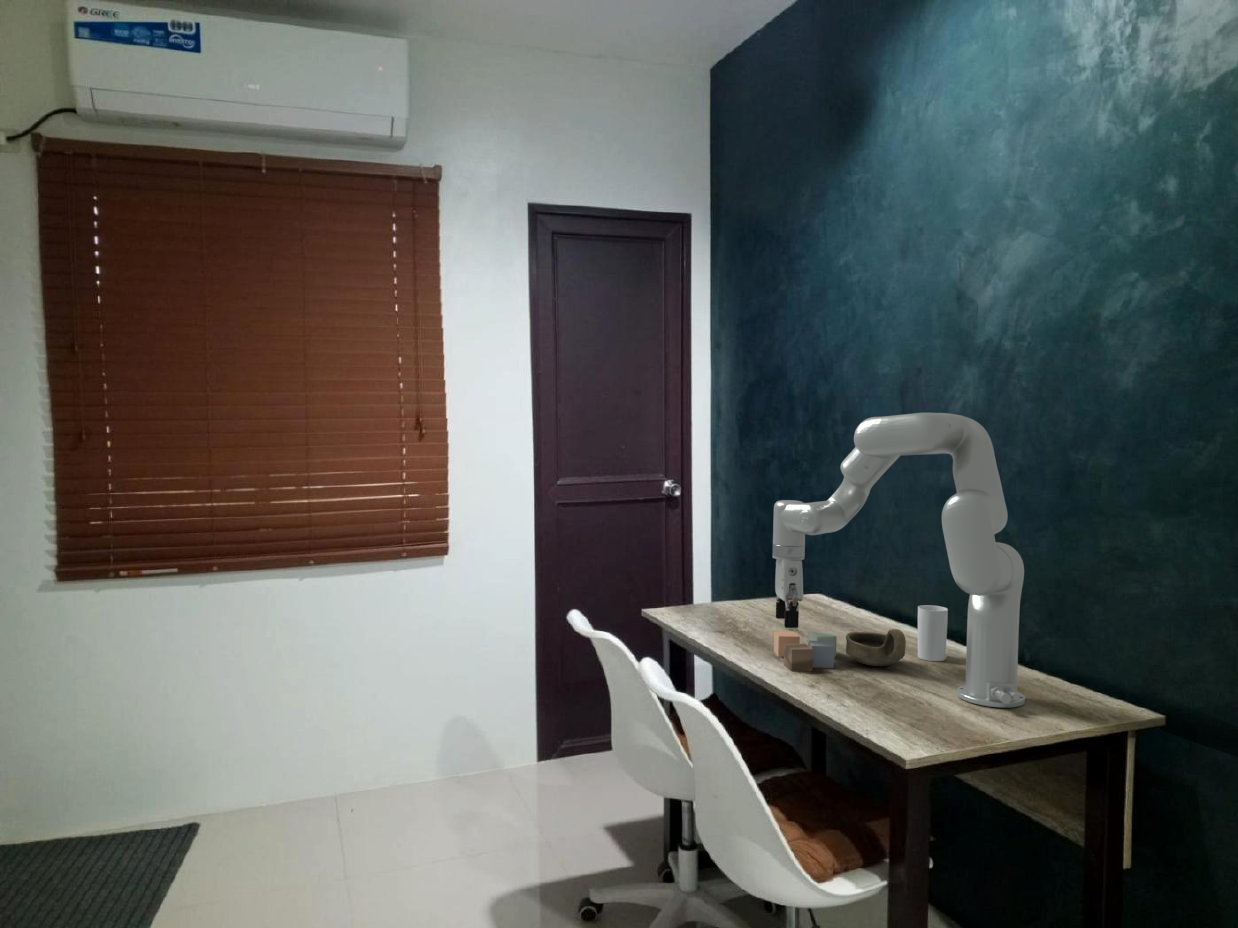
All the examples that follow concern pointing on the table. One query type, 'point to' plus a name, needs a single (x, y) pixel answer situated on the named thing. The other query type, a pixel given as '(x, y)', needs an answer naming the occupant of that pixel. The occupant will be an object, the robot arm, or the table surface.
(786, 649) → the walnut cube
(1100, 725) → the table surface
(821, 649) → the slate cube
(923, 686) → the table surface
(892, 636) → the bowl
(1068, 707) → the table surface
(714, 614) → the table surface
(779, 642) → the terracotta cube
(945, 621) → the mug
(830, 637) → the sage cube
